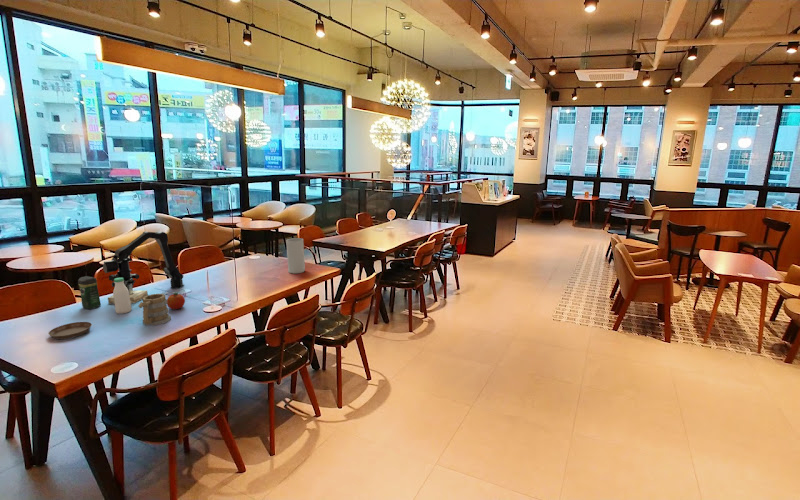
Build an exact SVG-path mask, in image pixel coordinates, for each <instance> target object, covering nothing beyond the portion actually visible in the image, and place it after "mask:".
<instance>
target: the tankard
mask: <svg viewBox="0 0 800 500" xmlns="http://www.w3.org/2000/svg"><path fill="white" fill-rule="evenodd" d="M167 299H168V298H166V295H165V293H153V294H148V296H145V297H143V298H142V299H141V300H142V301H140V303H139V304H138V308H139V309H143V310H142V318H143V319H142V323H143V324H144V325H145V326H158V325H162V324H166V323H167V322H169V321H170V320H171V319H172V317H171V315H170V314H169V307H168V305H167V304H168V303H167Z"/></svg>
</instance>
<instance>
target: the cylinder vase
mask: <svg viewBox="0 0 800 500" xmlns="http://www.w3.org/2000/svg"><path fill="white" fill-rule="evenodd" d="M285 242H286V256H287V257H286V258H287V270H288V273H289V274H302V273H304V272H305V270H306V266H305V246H304V245H305V244H304V238H302V237H301V238H300V237H299V238H298V237H295V238H294V237H292V238H288V239H286V241H285Z"/></svg>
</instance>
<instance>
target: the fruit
mask: <svg viewBox="0 0 800 500" xmlns="http://www.w3.org/2000/svg"><path fill="white" fill-rule="evenodd" d="M166 299H167V303H168V304H166V305H167V308H168V309H171V310H180V309H181V308H183V307H184V305H185V303H186V300H185V297H184V296H183V295H182V294H180V293H178V292H174V293H172V294H170V295H169V296H168V297H167V298H166Z"/></svg>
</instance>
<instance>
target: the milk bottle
mask: <svg viewBox="0 0 800 500" xmlns="http://www.w3.org/2000/svg"><path fill="white" fill-rule="evenodd" d="M124 281H125V280H124V278H115V279H114V281H113V282H114V283H115V287H113V288H114V289H113V292H112V295H113V297H114V303H113V304H114V308H115V309H114V310H115V313H116V314H120V315H121V314H126V313H129V312H131V311H132V303H131V302H130V296H129V291H128V289H127V287H126V286H125V285H124Z"/></svg>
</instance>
